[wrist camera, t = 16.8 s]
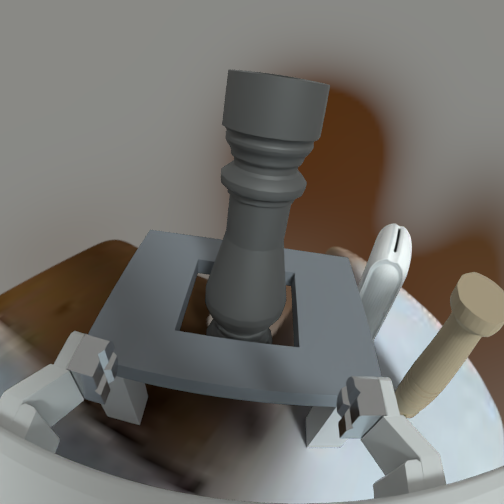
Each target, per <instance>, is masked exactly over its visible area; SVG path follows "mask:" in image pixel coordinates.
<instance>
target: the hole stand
mask: <svg viewBox="0 0 504 504" xmlns="http://www.w3.org/2000/svg"><path fill="white" fill-rule="evenodd" d="M221 243H222V240H220V239H213V238H206V237H199V236H191V235H184V234H177V233H170V232H162V231H154V230H150V231H149V232H148V234H147V236H146V237H145V239H144V240H143V242H142V243H141V245H140V246H139V248H138V249H137V251H136V253H135V254H134V256H133V257H132V259H131V261H130V262H129V264H128V266H127V267H126V269H125V270H124V272H123V274H122V275H121V277H120V279H119V280H118V282H117V284H116V285H115V287H114V289H113V291H112V292H111V294H110V296H109V297H108V299H107V301H106V303H105V304H104V306H103V308H102V310H101V311H100V313H99V315H98V317H97V319H96V320H95V322H94V324H93V326H92V328H91V330H90V331H89V333H88V335H90V336H94V337H97V338H101V339H105V340H108V341H112V342H113V344H114V347H115V348H114V351H113V352H114V353H115V354H116V355H117V358H118V370H117V374H116V377H115V380H113V381H112V382H110V383H109V387H110V393H109V395H108V398H107V400H106V403H105V405H104V404H101V405H102V407H103V409H104V411H105V413H106V414H107V416H108V417H112V418H115V419H119V420H122V421H126V422H130V423H134V424H137V425H140V423H141V419H142V416H143V413H144V409H145V406H146V402H147V399H148V394H147V390H146V386H145V383H146V384H151V385H155V386H160V387H165V388H170V389H175V390H180V391H186V392H191V393H197V394H203V395H209V396H216V397H223V398H230V399H237V400H246V401H254V402H264V403H275V404H287V405H303V406H313V407H312V409H311V410H310V412H309V414H308V415H307V417H306V440H307V448H340V447H341V446H342V445H343V444H344V443H345V442H346V441H347V440H348V439H340V437H339V427H338V422H339V421H340V419H341V416H340V415H339V414H338V413H337V407H336V404H337V397H338V393H339V392H340V390H341V388H343V387H345V386H346V381H347V379H348V378H349V377H351V376H366V377H382V375H381V371H380V367H379V363H378V359H377V355H376V351H375V347H374V343H373V340H372V336H371V332H370V328H369V325H368V321H367V318H366V314H365V311H364V307H363V304H362V300H361V297H360V294H359V290H358V287H357V284H356V281H355V277H354V274H353V271H352V268H351V265H350V262H349V259H348V258H346V257H339V256H333V255H326V254H319V253H312V252H305V251H297V250H291V249H284V260H285V282H286V285H288V286H291V288H292V290H291V291H292V310H293V331H294V347H291V346H281V345H272V344H264V343H256V342H248V341H240V340H233V339H226V338H219V337H213V336H206V335H200V334H194V333H188V332H182V331H180V327H181V324H182V321H183V318H184V314H185V311H186V308H187V305H188V302H189V299H190V295H191V292H192V289H193V286H194V283H195V280H196V277H197V274H198V273H203V274H209V275H210V273H211V271H212V268H213V265H214V262H215V260H216V257H217V254H218V251H219V249H220V246H221Z"/></svg>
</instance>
